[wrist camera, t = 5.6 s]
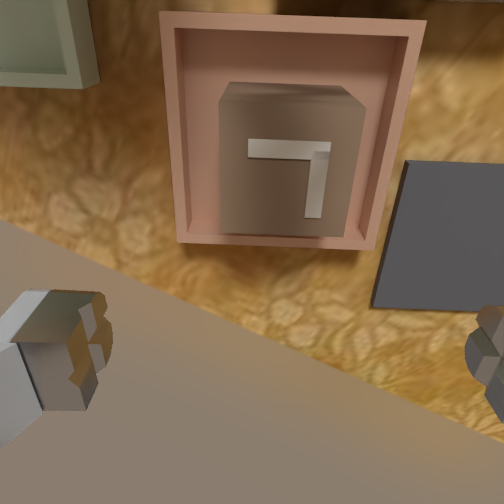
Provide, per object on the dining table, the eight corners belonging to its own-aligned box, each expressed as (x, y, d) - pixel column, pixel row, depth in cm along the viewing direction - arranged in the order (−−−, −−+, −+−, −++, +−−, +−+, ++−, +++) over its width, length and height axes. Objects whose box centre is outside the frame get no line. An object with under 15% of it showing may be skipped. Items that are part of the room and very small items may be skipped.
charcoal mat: (586, 167, 21) (594, 171, 21) (515, 307, 26) (520, 313, 26) (405, 160, 21) (409, 163, 21) (370, 301, 26) (372, 307, 26)
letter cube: (340, 85, 19) (367, 108, 14) (326, 190, 22) (343, 238, 17) (229, 81, 19) (218, 102, 14) (229, 186, 22) (220, 233, 17)
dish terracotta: (409, 20, 18) (427, 20, 16) (364, 232, 24) (373, 250, 22) (169, 11, 18) (158, 10, 16) (184, 224, 24) (177, 242, 22)
